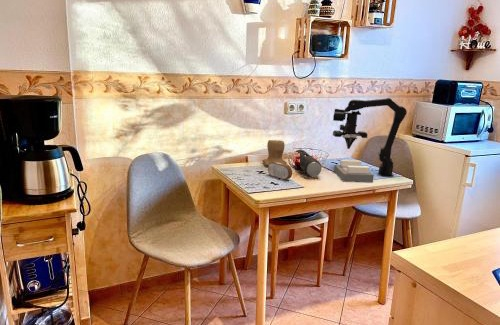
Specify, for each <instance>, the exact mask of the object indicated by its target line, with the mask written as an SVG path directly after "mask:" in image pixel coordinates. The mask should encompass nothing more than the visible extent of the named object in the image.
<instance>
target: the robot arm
mask: <svg viewBox="0 0 500 325" xmlns="http://www.w3.org/2000/svg"><path fill="white" fill-rule="evenodd" d="M383 106H384V107H385V106H387V107H388V108H390V109H391V111H393V117H392V119H393V120H392V124H391V126H390V130H388V134H387V137H386V141H385V143H384V145H383V147H382V146H380V147H379V151H378V152H377V155H378V159H379V161H380V162H381V163H380V164H379V168H378V172H377V173H378V174H379V175H380V176H381V177H394V175H393V170H394V161H393V159H392V158H391V155H392V147H393V144H394V142H395V139H396V136H397V133H398V132H399V131H398V130H399V128H400V126H401V123H402V122H403V120H404V119H405V117H406V116H407V109H406V108H405V107H404V106H403V105H399V104H397V103H396V102H394V101H393V100H392V99H391V98H390V97H387V98H380V99H379V98H378V99H377V98H376V99H367V100H366V99H365V100H363V99H362V100H361V99H351V100H349V102H348V104H347V106H346V107H345V108H344V109H342V108H341V109H339V108H335V109H334V111H333V112H334V113H333V116H332V118H333V120H332V121H335V122H344V121H346V122H345V123H344V124H339V130H333V132H332V136H333V137H336V138H341V137H342V138H343V139H344V140H345V144H346V148H347V150H350V148H351V147H352V145H353V143H354V142H355V141H356V140H358V137H360V138H362V139H367V138H368V136H369V135H368V133H367V132H366V131H361V130H360V131H358V132H357V131H356V130H357V126H358V124H357V123H358V115H359V116H361V115H362V113H361V112H360V110H361V109H365V108H375V107H383Z"/></svg>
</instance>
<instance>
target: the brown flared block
mask: <svg viewBox="0 0 500 325" xmlns="http://www.w3.org/2000/svg"><path fill="white" fill-rule="evenodd" d="M284 150H285V142H284V140H278V139H277V140H276V139H275V140H274V139H268V141H267V153H268V154H267V155H268V157H267V158H265V159H263V160H262V163H263V165H264V166H268V164H269V163H271V162H273V161H277V162H281V163H284V164H287V161H286V160H285V159H283V153H284Z"/></svg>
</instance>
